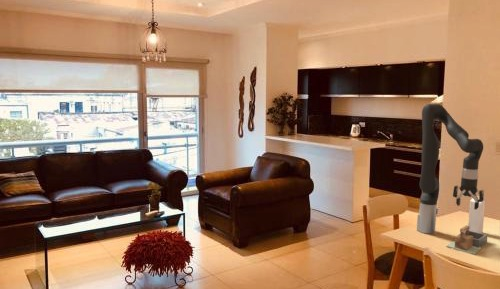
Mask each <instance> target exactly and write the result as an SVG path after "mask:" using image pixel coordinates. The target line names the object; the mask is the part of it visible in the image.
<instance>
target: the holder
mask: <svg viewBox="0 0 500 289" xmlns="http://www.w3.org/2000/svg"><path fill="white" fill-rule="evenodd" d="M464 234H466V231H465V232H464ZM469 235H472V236H473V246H474V247H478V248H481V247H482V246H484V245H485V244H486V243H488V234H485V233H477V232H473V231H469Z"/></svg>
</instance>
